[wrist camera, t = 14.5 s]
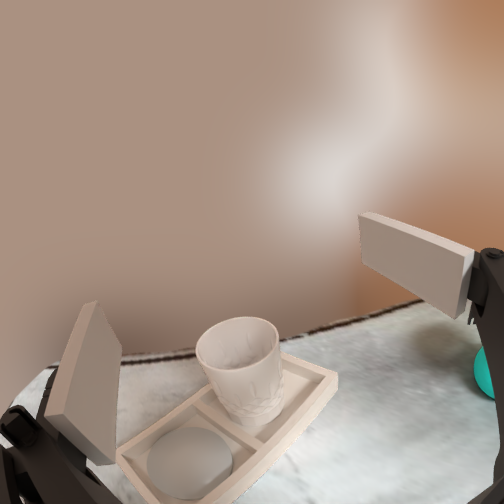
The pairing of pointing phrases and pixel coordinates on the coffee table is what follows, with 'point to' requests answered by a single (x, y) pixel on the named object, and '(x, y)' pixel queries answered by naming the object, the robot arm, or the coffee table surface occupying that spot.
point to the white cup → (244, 368)
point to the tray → (235, 432)
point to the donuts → (483, 373)
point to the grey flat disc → (189, 463)
